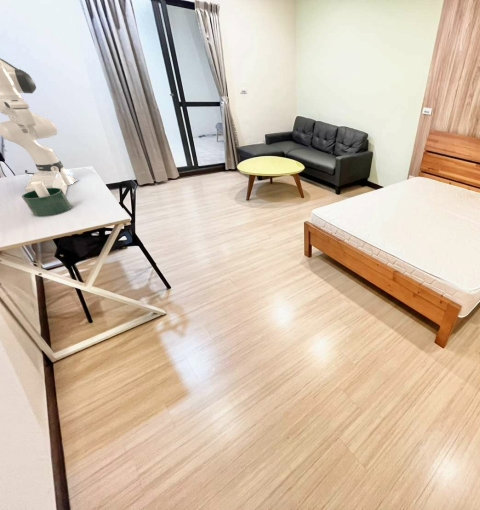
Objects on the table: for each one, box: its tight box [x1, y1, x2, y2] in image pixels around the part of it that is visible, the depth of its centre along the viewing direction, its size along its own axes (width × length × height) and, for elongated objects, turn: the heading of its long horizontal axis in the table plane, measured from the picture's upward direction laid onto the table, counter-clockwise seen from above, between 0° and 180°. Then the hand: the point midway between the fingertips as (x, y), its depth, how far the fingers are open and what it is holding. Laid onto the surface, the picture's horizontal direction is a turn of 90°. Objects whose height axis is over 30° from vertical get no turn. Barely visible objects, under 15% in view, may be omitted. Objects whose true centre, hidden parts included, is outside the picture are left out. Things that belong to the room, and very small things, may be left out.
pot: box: [21, 188, 72, 218], centre depth 143 cm, size 15×15×10 cm
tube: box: [31, 181, 50, 198], centre depth 142 cm, size 4×4×15 cm
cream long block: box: [24, 170, 68, 195], centre depth 158 cm, size 32×11×11 cm, turn 36°
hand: (29, 134), depth 134 cm, fingers open, 8 cm apart
